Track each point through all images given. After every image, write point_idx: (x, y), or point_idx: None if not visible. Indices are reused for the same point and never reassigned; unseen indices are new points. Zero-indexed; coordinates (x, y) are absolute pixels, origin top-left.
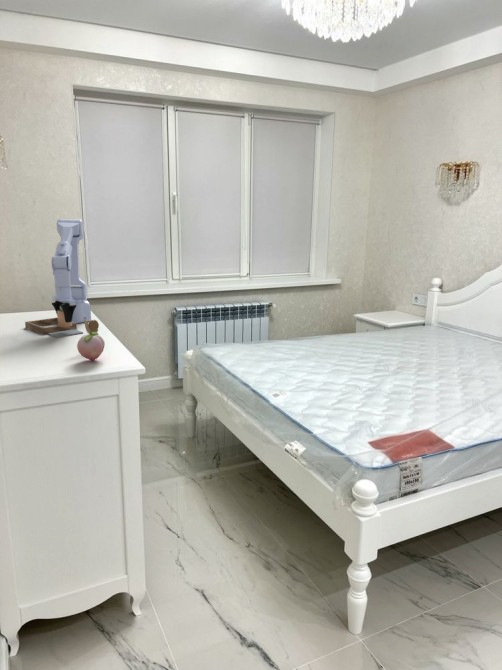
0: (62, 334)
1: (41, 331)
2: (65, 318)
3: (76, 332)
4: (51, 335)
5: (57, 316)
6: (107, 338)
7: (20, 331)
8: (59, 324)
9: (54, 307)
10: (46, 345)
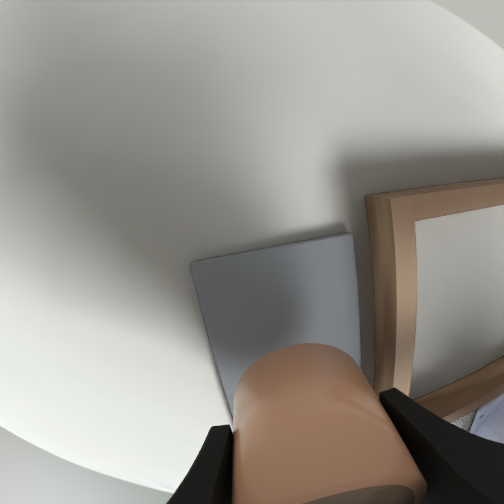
0: (240, 326)
1: (401, 192)
2: (201, 456)
3: None
4: (288, 244)
5: (417, 403)
6: (84, 459)
7: (499, 109)
8: (279, 362)
9: (499, 456)
10: (21, 144)
